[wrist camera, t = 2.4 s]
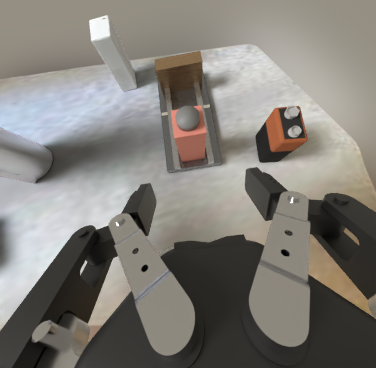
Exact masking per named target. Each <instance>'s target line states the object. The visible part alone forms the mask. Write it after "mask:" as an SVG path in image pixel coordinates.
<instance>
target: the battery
mask: <svg viewBox="0 0 376 368" xmlns="http://www.w3.org/2000/svg"><path fill="white" fill-rule="evenodd" d="M306 141H307V134H306V130H305V126H304V122H303V118H302V114H301V109H300V107H299V106H288V107H281V108H275V109H274V110H273V112H272V113H271V114H270V116H269V117H268V119H267V120H266V122H265V123H264V125H263V126H262V127H261V129H260V130H259V132H258V133H257V135H256V143H257V150H258V157H259V161H260V162H276V161H280V160H281V159H282V158H284V157H285V156H287V155H288V154H290V153H291V152H292V151H294V150H295V149H297V148H298V147H300V146H301V145H302V144H304V143H305V142H306Z"/></svg>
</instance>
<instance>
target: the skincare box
mask: <svg viewBox="0 0 376 368" xmlns="http://www.w3.org/2000/svg"><path fill="white" fill-rule="evenodd" d="M89 23H90V32H91V41H92V43H93V45H94V46H95V48H96V49H97V51H98V52H99V54H100V55H101V57H102V59H103V61H104V62H105V64H106V65H107V67H108V69H109V70H110V72H111V73H112V75H113V76H114V78H115V80H116V81H117V83H118V84H119V86H120V87H121V89H122V91H123V92H125V91H128V90H132V89H136V88H137V84H136V78H135V73H134V70H133V68H132V65H131V63H130V61H129V59H128V57H127V55H126V52H125V50H124V48H123V46H122V44H121V42H120V40H119V37H118V35H117V33H116V31H115V29H114V27H113V25H112V22H111V20H110V18H109V16H103V17H100V18H96V19H92V20H90V21H89Z"/></svg>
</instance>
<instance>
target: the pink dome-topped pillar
mask: <svg viewBox="0 0 376 368" xmlns="http://www.w3.org/2000/svg"><path fill="white" fill-rule="evenodd" d="M171 117H172V125H173V133H174V139H175V142H176V145H177V148H178V151H179V154H180V157H181V160H182V162H186V161H192V160H198V159H204V158H205V146H206V134H207V132H206V127H205V122H204V117H203V111H202V106H201V105H199V106H194V107H193V106H184V107H181V108H180V109H177V110H171Z"/></svg>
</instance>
